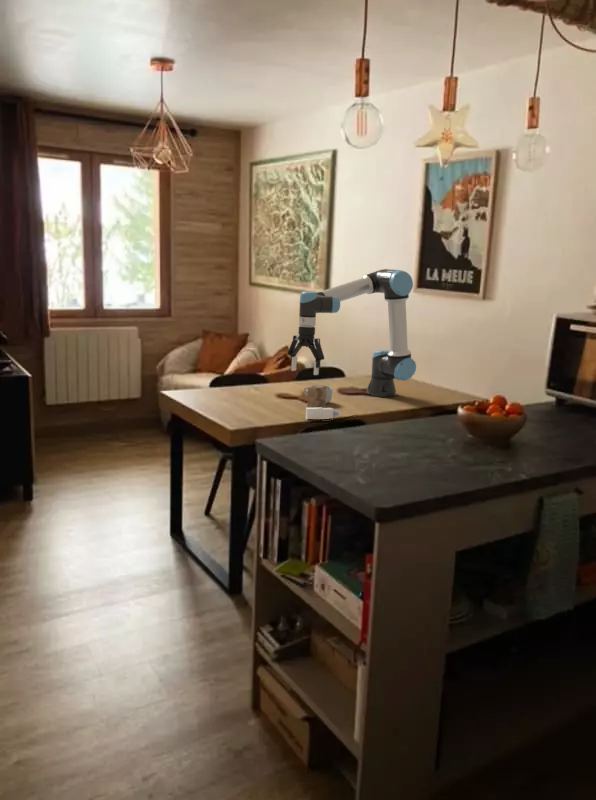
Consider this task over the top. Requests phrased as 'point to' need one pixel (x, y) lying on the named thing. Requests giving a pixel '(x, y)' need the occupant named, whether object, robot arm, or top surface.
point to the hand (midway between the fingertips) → (304, 372)
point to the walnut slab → (316, 396)
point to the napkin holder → (319, 413)
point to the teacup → (328, 392)
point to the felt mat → (335, 412)
